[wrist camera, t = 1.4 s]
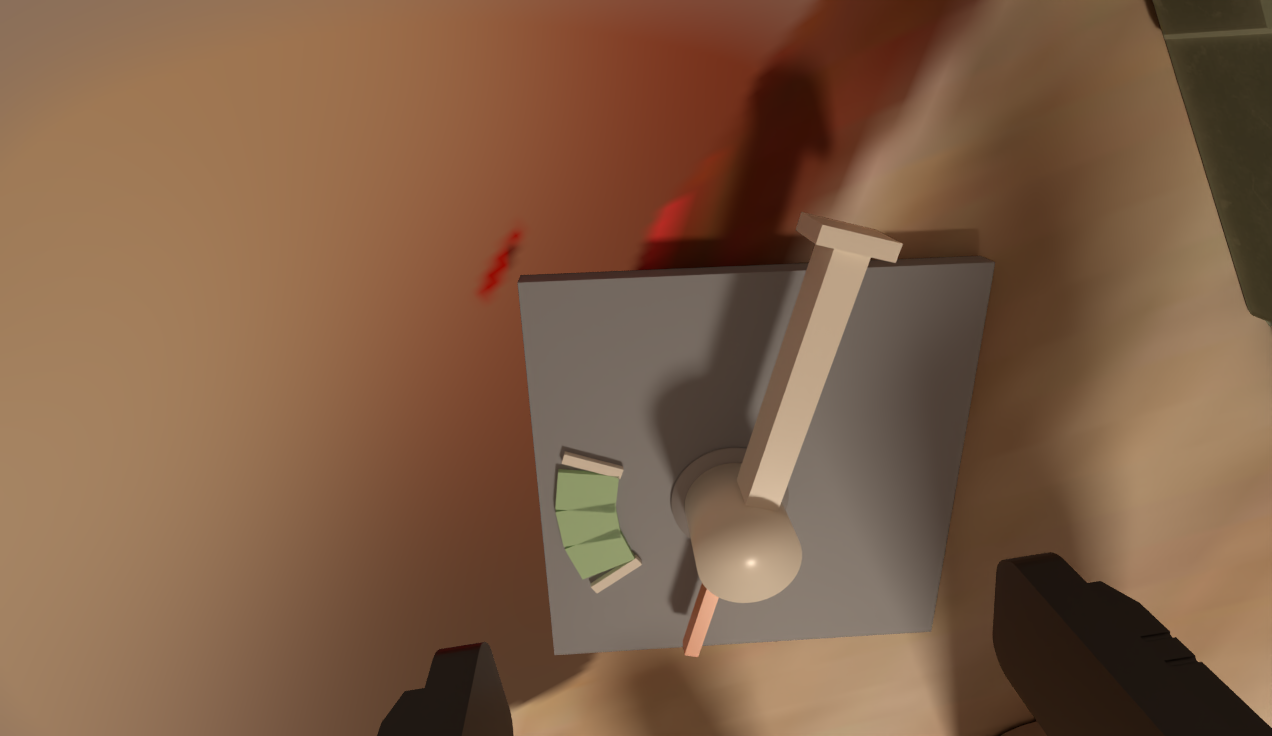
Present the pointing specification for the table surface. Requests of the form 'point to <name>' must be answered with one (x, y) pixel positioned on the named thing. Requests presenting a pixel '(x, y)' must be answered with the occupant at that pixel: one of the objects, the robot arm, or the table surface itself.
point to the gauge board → (745, 444)
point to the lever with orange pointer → (777, 435)
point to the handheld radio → (1231, 122)
